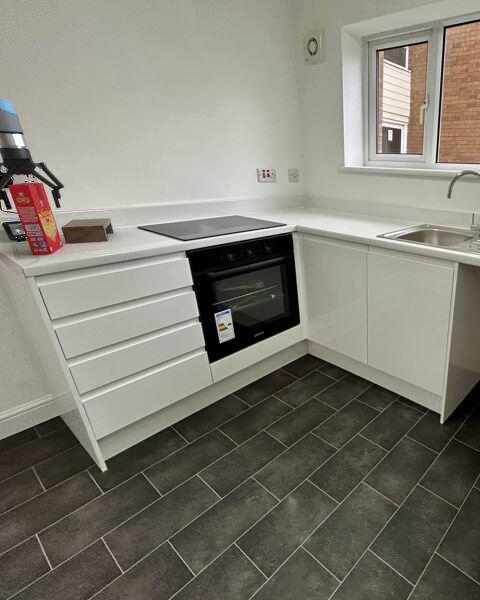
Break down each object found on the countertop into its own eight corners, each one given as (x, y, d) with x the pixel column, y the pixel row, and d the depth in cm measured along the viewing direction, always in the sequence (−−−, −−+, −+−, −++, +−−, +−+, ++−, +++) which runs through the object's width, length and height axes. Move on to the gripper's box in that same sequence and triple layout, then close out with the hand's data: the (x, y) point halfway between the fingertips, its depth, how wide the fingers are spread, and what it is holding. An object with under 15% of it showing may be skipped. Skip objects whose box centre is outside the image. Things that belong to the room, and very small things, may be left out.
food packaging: (51, 254, 133) (28, 185, 124) (32, 255, 131) (7, 185, 122) (63, 246, 145) (42, 182, 136) (46, 247, 143) (24, 182, 134)
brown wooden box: (66, 243, 149) (60, 227, 146) (77, 234, 166) (72, 219, 164) (107, 241, 156) (103, 225, 153) (114, 232, 173) (110, 218, 171)
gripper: (62, 149, 133) (79, 206, 141) (-33, 145, 121) (-9, 208, 129) (57, 148, 127) (75, 208, 135) (-44, 145, 115) (-17, 211, 123)
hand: (34, 208), depth 132 cm, fingers open, 13 cm apart
